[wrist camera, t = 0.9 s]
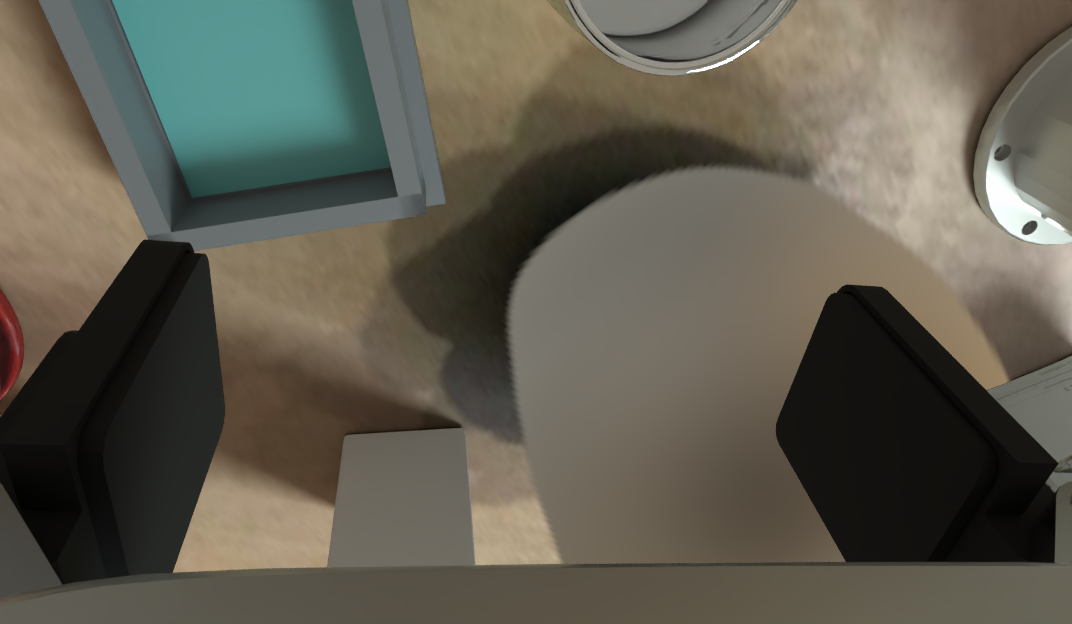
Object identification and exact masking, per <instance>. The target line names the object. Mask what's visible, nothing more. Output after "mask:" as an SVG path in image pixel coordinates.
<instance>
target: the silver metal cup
mask: <svg viewBox="0 0 1072 624" xmlns="http://www.w3.org/2000/svg"><path fill="white" fill-rule="evenodd" d="M547 1H548V2H549V3H550V5H551V6H552V7H553V8H554V9H555V11H556V12H557V13H558V14H559V15H560V16H561V17H562V18H563V19H564V20H565V21H566V22H567V23H568V24H569V25H570V26H571V27H572V28H573V29H574V30H575V31H577V32H578V33H579V34H581V35H582V36H583V37H585V38H586V39H587V40H588V41H590V42H591V43H592V44H593V45H594V46H595V47H596V48H598V49H599V50H600V51H601V52H602V53H604V54H605V55H607V56H608V57H609V58H611V59H613V60H614V61H616V62H618V63H620V64H622V65H624V66H626V67H628V68H631V69H633V70H636V71H640V72H643V73H648V74H653V75H660V76H683V75H691V74H697V73H701V72H705V71H708V70H712V69H715V68H717V67H720V66H722V65H724V64H727V63H729V62H731V61H733V60H735V59H737V58H738V57H740V56H742V55H743V54H745V53H746V52H748V51H749V50H751V49H752V48H754V47H755V46H756V45H757V44H759V43H760V42H761V41H762V40H764V39H765V38H766V37H767V36H768V35H769V34H770V33H771V32H772V31H773V30H774V29H775V28H776V27H777V26H778V25H779V24H780V23H781V21H782V20H783V19H784V18H785V17H786V15H787V14H788V13H789V11H790V10H791V9H792V7H793V6H794V5H795V3H796V2H797V0H547Z"/></svg>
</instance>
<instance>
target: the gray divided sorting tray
mask: <svg viewBox="0 0 1072 624" xmlns="http://www.w3.org/2000/svg"><path fill="white" fill-rule="evenodd" d="M39 2H40V5H41V7H42V9H43V11H44V13H45V16H46V18H47V20H48V22H49V24H50V26H51V29H52V31H53V33H54V35H55V37H56V39H57V42H58V44H59V46H60V48H61V50H62V53H63V55H64V57H65V59H66V61H67V63H68V66H69V68H70V70H71V72H72V74H73V76H74V79H75V81H76V83H77V85H78V87H79V90H80V92H81V94H82V96H83V98H84V100H85V103H86V105H87V107H88V109H89V111H90V113H91V116H92V118H93V120H94V122H95V124H96V127H97V129H98V131H99V133H100V135H101V137H102V140H103V142H104V144H105V146H106V148H107V151H108V153H109V155H110V157H111V159H112V161H113V164H114V166H115V168H116V170H117V172H118V174H119V177H120V179H121V181H122V183H123V185H124V188H125V190H126V192H127V194H128V196H129V198H130V201H131V203H132V205H133V207H134V209H135V211H136V214H137V216H138V218H139V220H140V222H141V225H142V227H143V229H144V231H145V233H146V235H147V238H148V240H159V241H174V242H189V243H190V244H191V245H192V247H193V249H194V251H197V250H204V249H210V248H216V247H223V246H229V245H235V244H242V243H248V242H254V241H261V240H267V239H273V238H280V237H286V236H293V235H299V234H305V233H312V232H318V231H324V230H331V229H337V228H343V227H350V226H356V225H362V224H369V223H375V222H381V221H388V220H394V219H400V218H407V217H413V216H419V215H426V206H432V205H438V204H445V203H446V199H445V190H444V185H443V179H442V174H441V169H440V164H439V159H438V154H437V149H436V144H435V138H434V133H433V128H432V123H431V118H430V113H429V108H428V103H427V97H426V92H425V87H424V82H423V77H422V72H421V67H420V62H419V57H418V51H417V46H416V41H415V36H414V31H413V26H412V21H411V16H410V10H409V5H408V0H39Z"/></svg>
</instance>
